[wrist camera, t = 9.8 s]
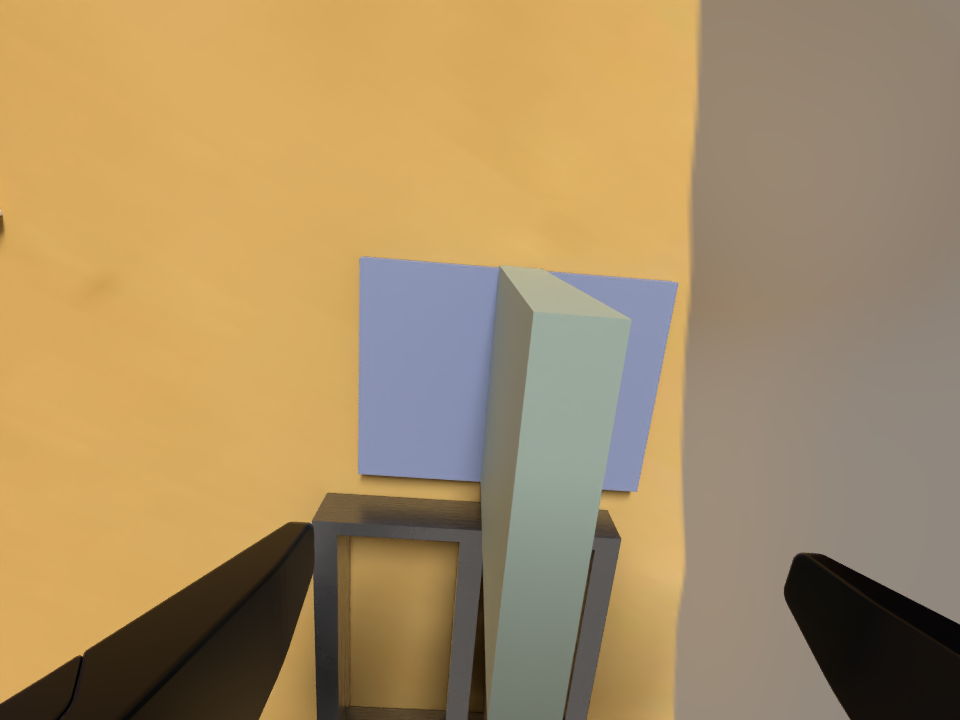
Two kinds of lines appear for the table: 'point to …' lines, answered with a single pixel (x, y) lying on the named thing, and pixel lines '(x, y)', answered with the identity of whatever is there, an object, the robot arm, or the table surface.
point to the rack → (464, 526)
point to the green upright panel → (543, 481)
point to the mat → (478, 366)
